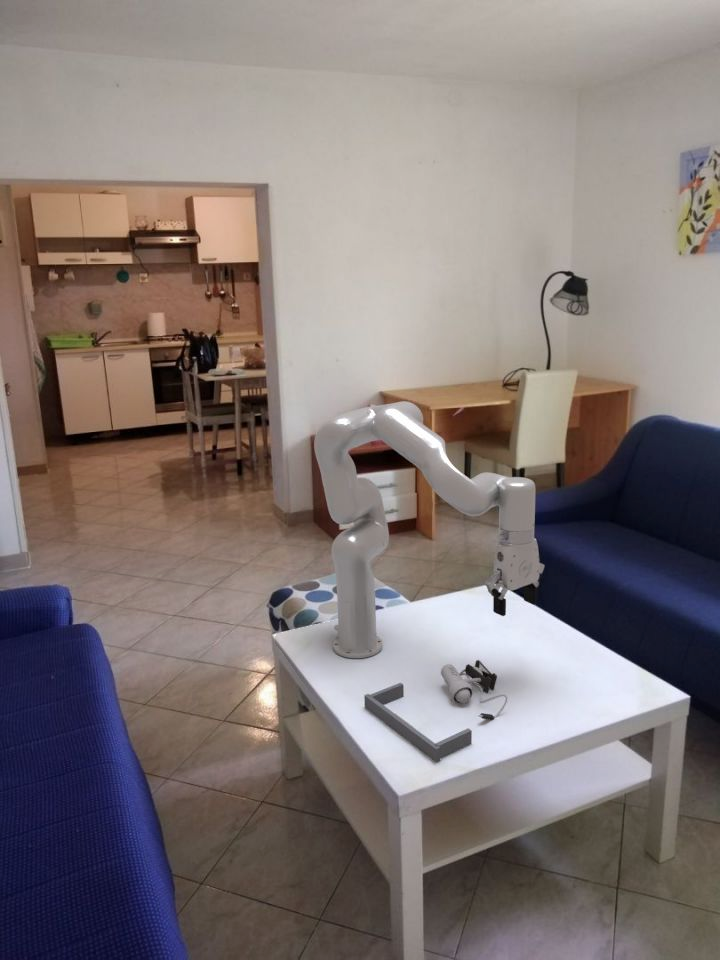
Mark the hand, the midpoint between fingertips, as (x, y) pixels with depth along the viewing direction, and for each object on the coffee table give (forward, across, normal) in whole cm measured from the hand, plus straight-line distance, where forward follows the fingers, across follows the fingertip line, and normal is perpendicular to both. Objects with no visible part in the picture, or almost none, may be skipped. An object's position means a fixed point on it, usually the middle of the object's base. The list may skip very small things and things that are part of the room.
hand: (514, 608), depth 162 cm
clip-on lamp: (+19, -12, 0) cm, 22 cm away
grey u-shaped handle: (+18, -28, 0) cm, 34 cm away
